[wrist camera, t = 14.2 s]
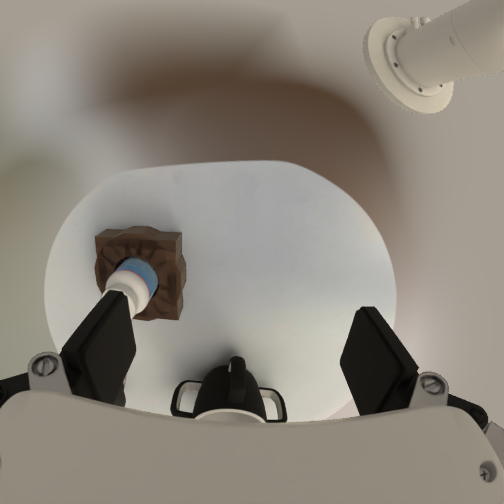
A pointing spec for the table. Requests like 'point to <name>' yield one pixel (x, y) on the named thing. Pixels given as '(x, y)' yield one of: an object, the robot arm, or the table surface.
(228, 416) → the mug
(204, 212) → the table surface
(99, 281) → the hole plate
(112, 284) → the pill bottle
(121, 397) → the light bulb
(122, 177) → the table surface
